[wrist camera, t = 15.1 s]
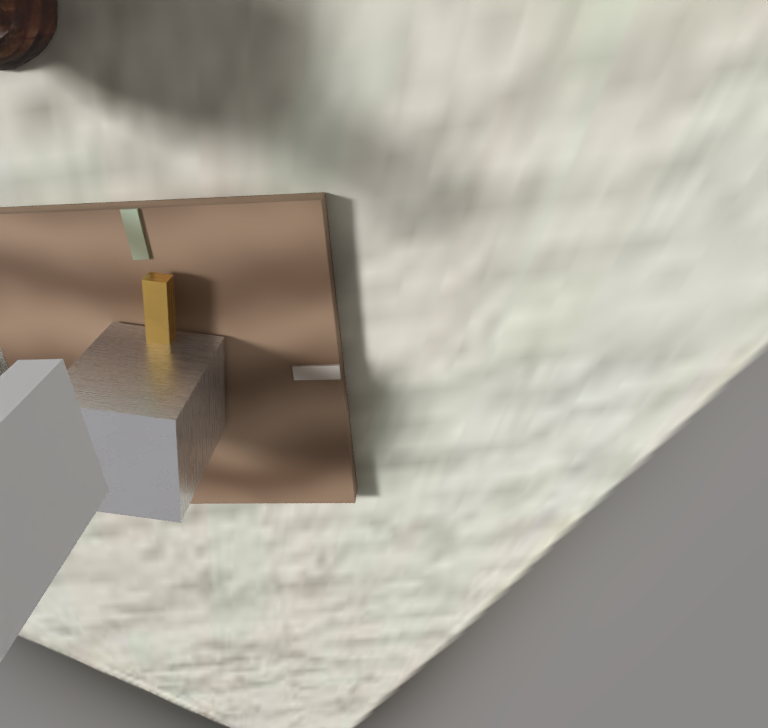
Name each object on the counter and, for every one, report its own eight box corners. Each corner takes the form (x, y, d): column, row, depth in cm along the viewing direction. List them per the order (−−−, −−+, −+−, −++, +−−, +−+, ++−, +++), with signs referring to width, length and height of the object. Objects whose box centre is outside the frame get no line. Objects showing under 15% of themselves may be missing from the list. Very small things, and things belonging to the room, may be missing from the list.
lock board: (-37, 209, 40) (-55, 217, 38) (324, 192, 38) (320, 200, 36) (72, 490, 51) (61, 505, 49) (357, 488, 49) (354, 504, 47)
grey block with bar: (225, 427, 45) (180, 522, 37) (121, 414, 45) (56, 505, 37) (223, 277, 39) (171, 351, 31) (106, 261, 39) (24, 331, 31)
